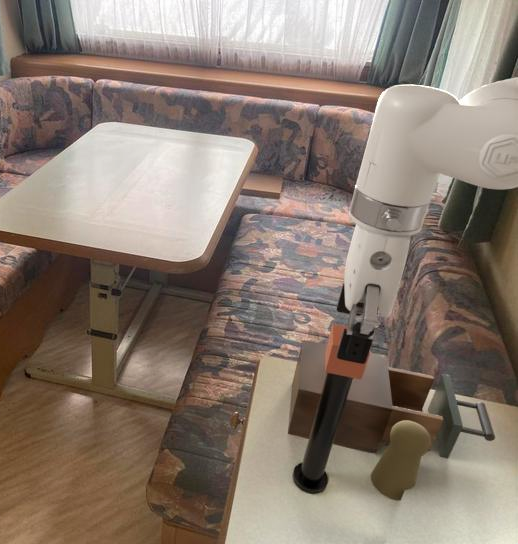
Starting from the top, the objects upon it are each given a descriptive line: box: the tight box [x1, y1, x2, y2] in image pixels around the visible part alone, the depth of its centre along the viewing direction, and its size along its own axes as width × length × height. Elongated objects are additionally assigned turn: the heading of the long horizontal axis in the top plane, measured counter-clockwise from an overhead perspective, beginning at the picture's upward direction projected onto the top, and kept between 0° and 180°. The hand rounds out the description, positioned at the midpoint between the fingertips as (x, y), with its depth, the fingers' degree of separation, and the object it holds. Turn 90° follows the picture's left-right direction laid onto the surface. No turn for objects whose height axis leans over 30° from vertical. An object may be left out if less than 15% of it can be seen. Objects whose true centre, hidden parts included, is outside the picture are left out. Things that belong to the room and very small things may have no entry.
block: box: [325, 323, 371, 380], centre depth 71 cm, size 4×4×4 cm
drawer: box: [380, 366, 496, 460], centre depth 90 cm, size 18×11×8 cm, turn 75°
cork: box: [370, 420, 431, 501], centre depth 82 cm, size 6×6×11 cm
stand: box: [292, 373, 353, 495], centre depth 78 cm, size 5×5×22 cm
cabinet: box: [287, 339, 393, 455], centre depth 93 cm, size 14×13×10 cm
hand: (349, 335), depth 70 cm, fingers open, 9 cm apart
